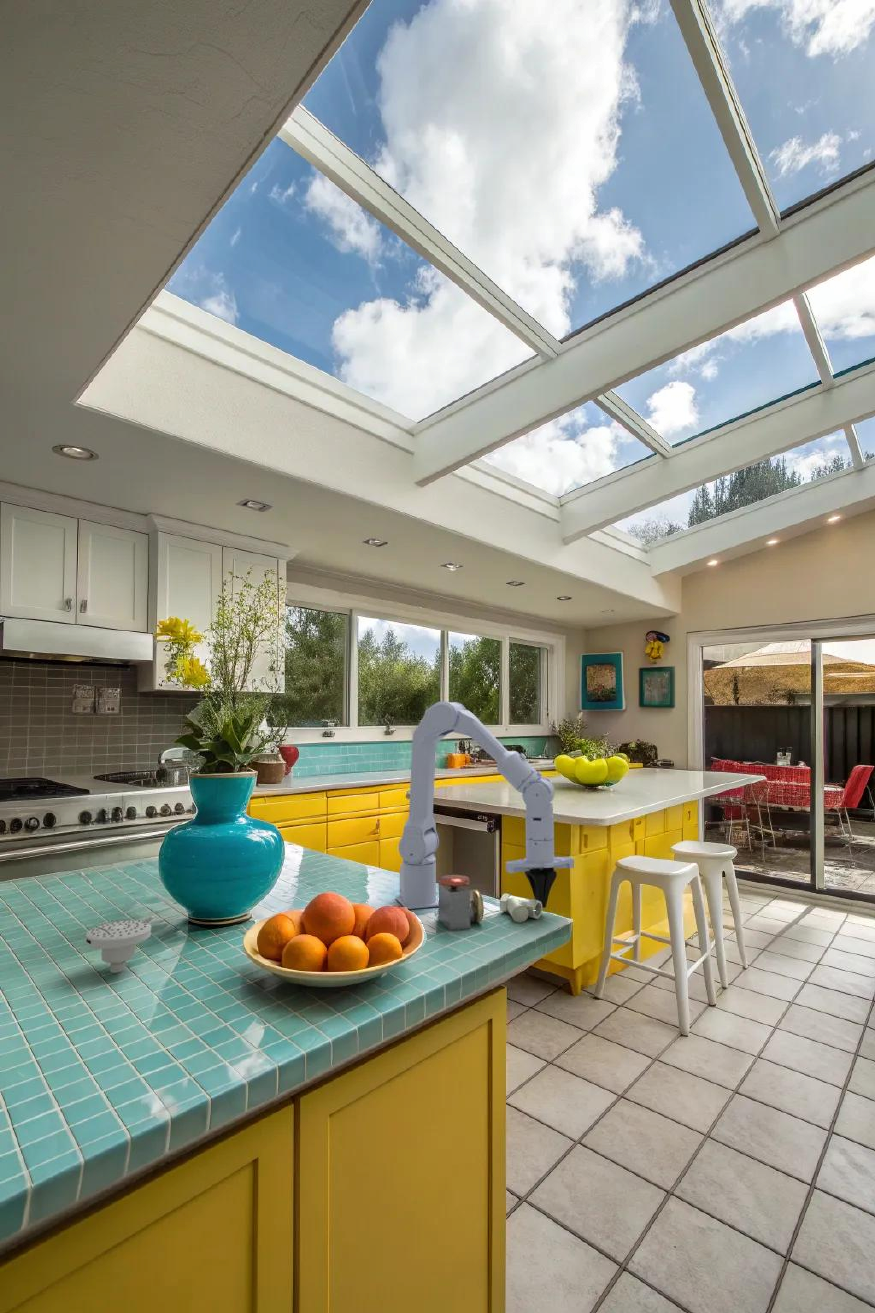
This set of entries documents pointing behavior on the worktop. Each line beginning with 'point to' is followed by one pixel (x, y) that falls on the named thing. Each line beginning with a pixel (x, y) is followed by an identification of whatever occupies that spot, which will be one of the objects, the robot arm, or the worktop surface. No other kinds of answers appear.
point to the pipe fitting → (520, 907)
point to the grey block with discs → (458, 903)
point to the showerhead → (118, 940)
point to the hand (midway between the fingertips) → (541, 906)
